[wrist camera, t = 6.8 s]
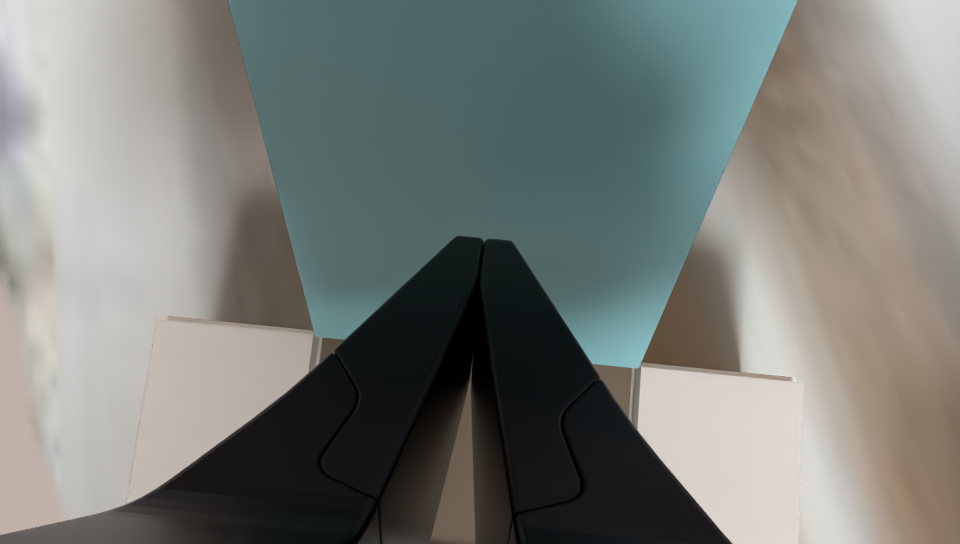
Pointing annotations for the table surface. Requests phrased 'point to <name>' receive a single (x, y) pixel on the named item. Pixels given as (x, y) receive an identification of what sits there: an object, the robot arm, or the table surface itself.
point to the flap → (503, 142)
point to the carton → (640, 392)
